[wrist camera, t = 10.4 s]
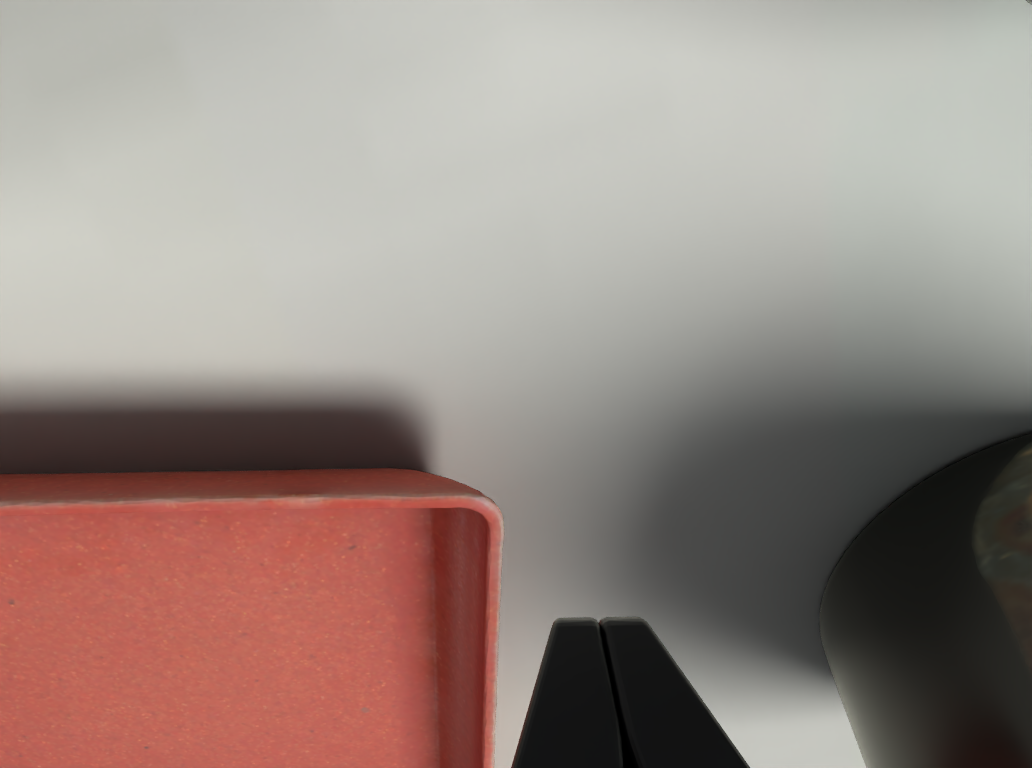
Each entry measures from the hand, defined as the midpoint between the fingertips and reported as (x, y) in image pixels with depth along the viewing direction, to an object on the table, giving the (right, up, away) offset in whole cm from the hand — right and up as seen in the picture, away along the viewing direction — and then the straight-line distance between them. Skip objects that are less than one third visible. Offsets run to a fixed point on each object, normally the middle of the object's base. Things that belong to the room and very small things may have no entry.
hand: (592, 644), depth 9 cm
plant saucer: (-10, -5, +19) cm, 22 cm away
